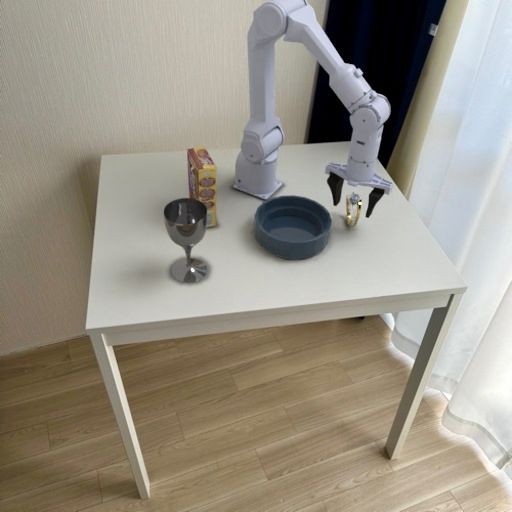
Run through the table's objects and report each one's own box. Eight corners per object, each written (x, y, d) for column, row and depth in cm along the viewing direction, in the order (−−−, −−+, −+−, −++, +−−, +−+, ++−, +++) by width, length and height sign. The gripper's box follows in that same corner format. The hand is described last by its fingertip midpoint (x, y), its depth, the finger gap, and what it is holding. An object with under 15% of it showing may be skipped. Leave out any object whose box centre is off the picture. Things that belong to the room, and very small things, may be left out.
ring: (358, 233, 115) (365, 204, 110) (344, 233, 115) (350, 204, 110) (353, 214, 120) (359, 185, 115) (340, 214, 120) (345, 185, 115)
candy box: (218, 226, 116) (217, 167, 105) (199, 229, 114) (196, 170, 104) (207, 203, 122) (205, 145, 111) (189, 206, 121) (185, 148, 110)
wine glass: (170, 257, 107) (164, 198, 97) (209, 256, 108) (207, 197, 98) (168, 285, 102) (162, 224, 91) (209, 283, 102) (207, 224, 92)
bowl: (240, 242, 112) (240, 224, 108) (277, 204, 122) (278, 187, 119) (307, 271, 106) (310, 252, 102) (340, 229, 116) (343, 211, 113)
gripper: (322, 153, 106) (314, 207, 115) (389, 175, 101) (376, 230, 110) (336, 139, 111) (328, 192, 120) (401, 159, 105) (388, 213, 114)
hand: (352, 209), depth 115 cm, fingers open, 7 cm apart
